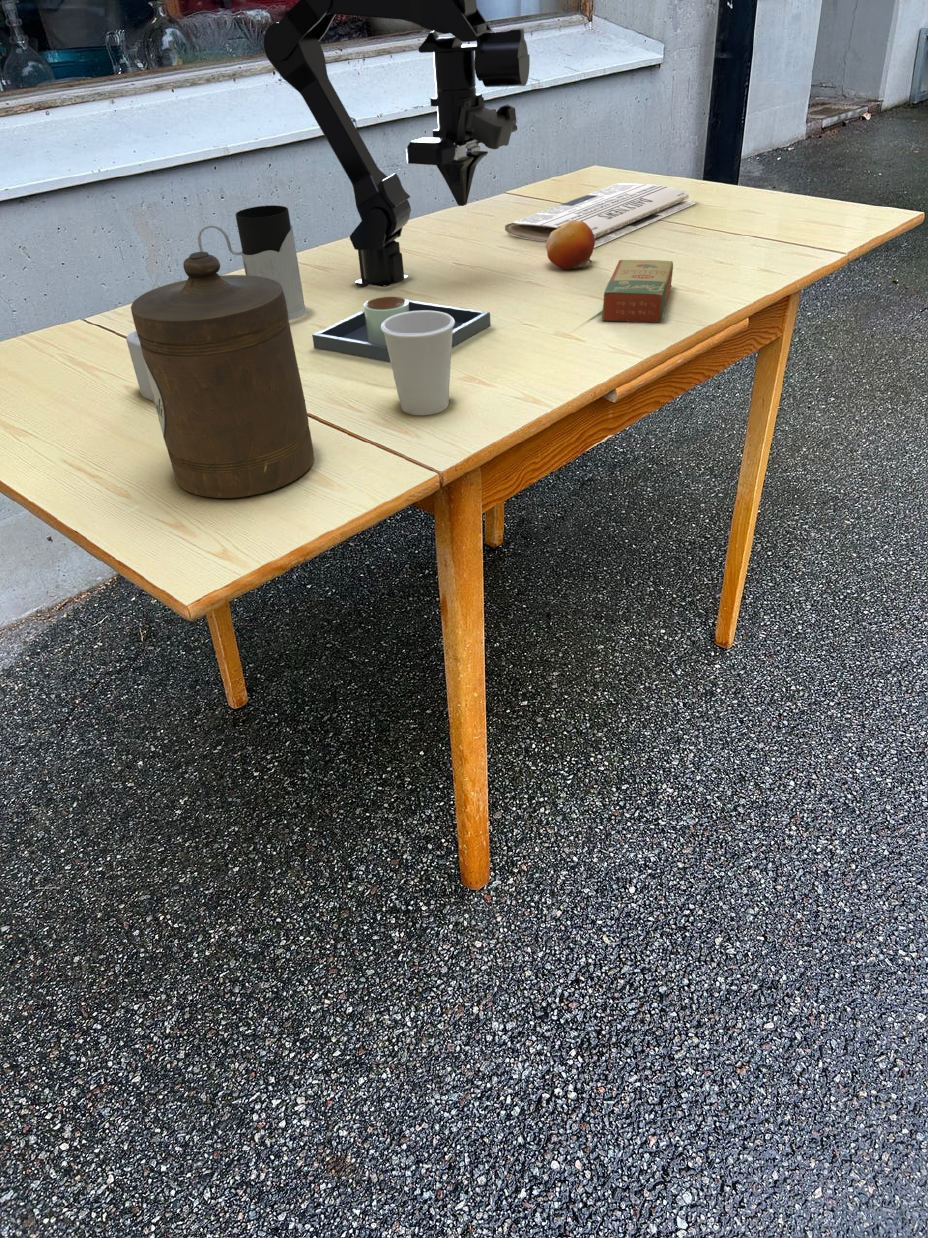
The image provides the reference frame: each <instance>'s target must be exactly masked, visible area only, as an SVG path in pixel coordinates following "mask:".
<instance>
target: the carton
mask: <svg viewBox="0 0 928 1238" xmlns="http://www.w3.org/2000/svg"><path fill="white" fill-rule="evenodd" d="M673 272H674V261H672V260H661V259H660V260H657V259H619V260H618V262H617V265H616V266H615V268H614V271H613V272H612V275H611V277H610V280H609V281H608V283H607V286H606V287H605V289H604V292H603V304H602V314H601V319H602V321H606V322H607V321H608V322H610V321H612V322H628V323H629V322H630V323H632V322H633V323H661V322H662V321H663V319H664V316H665V311H666V308H667V302H668V299H669V295H670V292H671V289H672V287H673V286H672V281H673Z"/></svg>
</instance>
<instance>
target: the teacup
mask: <svg viewBox="0 0 928 1238" xmlns="http://www.w3.org/2000/svg"><path fill="white" fill-rule="evenodd" d="M408 300H409V299H407V298H404V297H402V296H382V297H381V296H380V297H376V298H373V299H372V298H371V299H370V300H367V301H365V303H364V304H363V310H364V312H365V320H366V328H367V337H368V342H369V343H374V344H380V345H386V346H387V344H386V340H385V336H384V332H383V331H382V330H381V324H382V323H383V322H384V321H385V320H386V319H387V318H389V317H391V316H393V315H396V314H400V313H404V312H410V311H409V302H408Z"/></svg>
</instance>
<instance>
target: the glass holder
mask: <svg viewBox="0 0 928 1238" xmlns="http://www.w3.org/2000/svg"><path fill="white" fill-rule="evenodd" d="M234 216H235V221H236V226H237V231H238V235H239V242H240V247H241V251H234V250H233V249H232V245H231V240H230V238H229V236H228V233H227V232H226V230H224V228H222V227H220V226H219V225H217V224H207V225H205V226H203V227H202V228H201V229H200V230H199V233H198V235H197V242H198V248H199V249H198V250H199V252H204V249H203V246H202V233H203V232H204V231H205V230H207V229H210V228H213V229H216V230H218V231H219V232H220V233H221V234H222V235H223V237H224V239H225V241H226V244H227V248H228V251H229V252H230V253H231V254H232V255H234V256H241V257H242V263H243V268H244V275H250V276H259V277H265V278H269V279H272V280H275V281H277V282H278V283H280V284H281V286H282V288H283V291H284V295H285V299H286V304H287V310H288V318H289V322H290V321H292V320H296V319H299V318H301V317H303V316H304V315H306V314H307V313H309V310H308V308H307V307H306V304H305V298H304V291H303V285H302V278H301V273H300V272H301V271H300V267H299V260H298V254H297V248H296V247H297V246H296V242H295V236H294V229H293V225H292V224H291V219H290V217H291V216H290V211H289V208H288V207H287V206H285V205H274V204H273V205H271V204H269V205H258V206H251V207H247V208H243V209H241V210H239V211H237V212H235V215H234Z"/></svg>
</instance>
